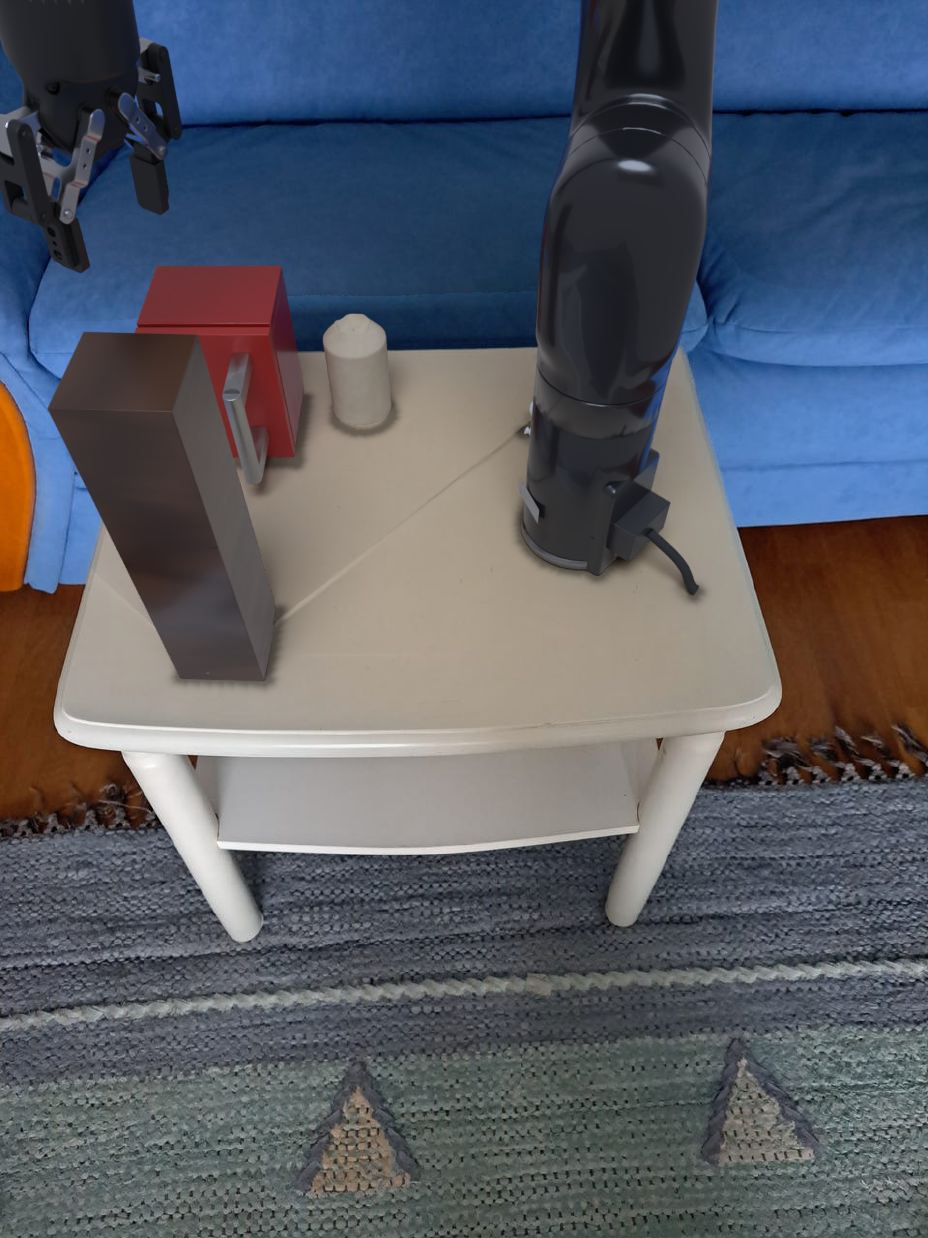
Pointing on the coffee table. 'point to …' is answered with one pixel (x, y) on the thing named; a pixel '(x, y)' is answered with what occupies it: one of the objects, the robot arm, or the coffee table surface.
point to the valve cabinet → (230, 312)
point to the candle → (358, 370)
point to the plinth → (170, 496)
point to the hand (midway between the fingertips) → (116, 236)
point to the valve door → (245, 392)
